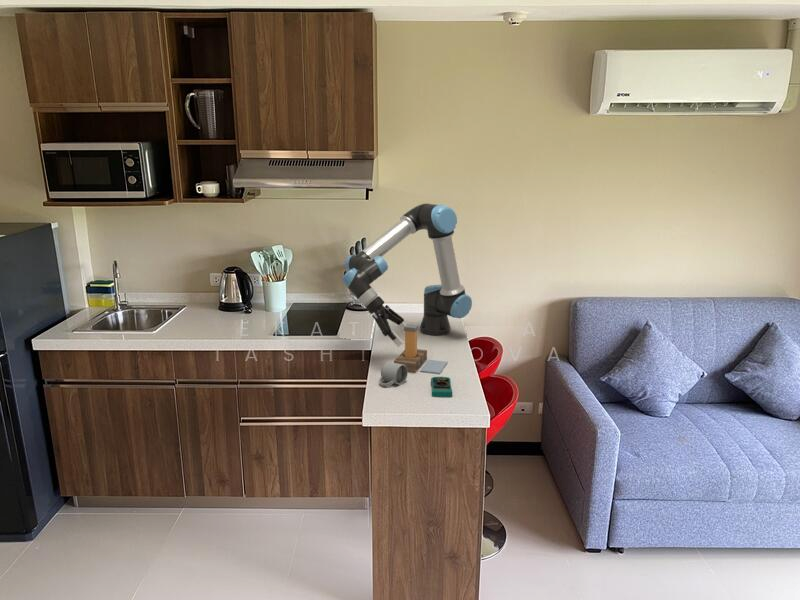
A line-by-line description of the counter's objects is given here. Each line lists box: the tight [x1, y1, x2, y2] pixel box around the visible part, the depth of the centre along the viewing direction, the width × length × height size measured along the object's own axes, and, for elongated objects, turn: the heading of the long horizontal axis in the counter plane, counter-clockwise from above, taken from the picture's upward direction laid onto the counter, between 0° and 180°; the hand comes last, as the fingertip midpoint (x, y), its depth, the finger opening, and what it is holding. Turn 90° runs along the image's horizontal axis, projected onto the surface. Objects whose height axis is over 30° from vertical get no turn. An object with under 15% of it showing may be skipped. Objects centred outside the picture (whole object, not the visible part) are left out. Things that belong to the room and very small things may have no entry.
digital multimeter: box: [430, 376, 453, 398], centre depth 222 cm, size 7×15×3 cm, turn 178°
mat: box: [419, 359, 449, 375], centre depth 245 cm, size 14×8×1 cm, turn 162°
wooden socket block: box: [393, 348, 428, 374], centre depth 248 cm, size 18×9×4 cm, turn 163°
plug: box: [404, 323, 420, 358], centre depth 246 cm, size 5×5×17 cm
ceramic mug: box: [378, 362, 409, 388], centre depth 227 cm, size 11×8×8 cm
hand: (406, 340), depth 245 cm, fingers open, 13 cm apart
